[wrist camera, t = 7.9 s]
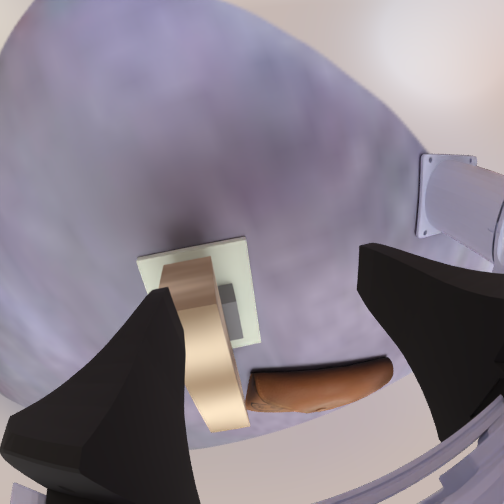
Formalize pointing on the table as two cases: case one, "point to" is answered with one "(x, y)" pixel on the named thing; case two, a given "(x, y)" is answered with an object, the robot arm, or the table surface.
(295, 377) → the sunglasses case
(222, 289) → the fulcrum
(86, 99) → the table surface
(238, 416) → the beige piece
